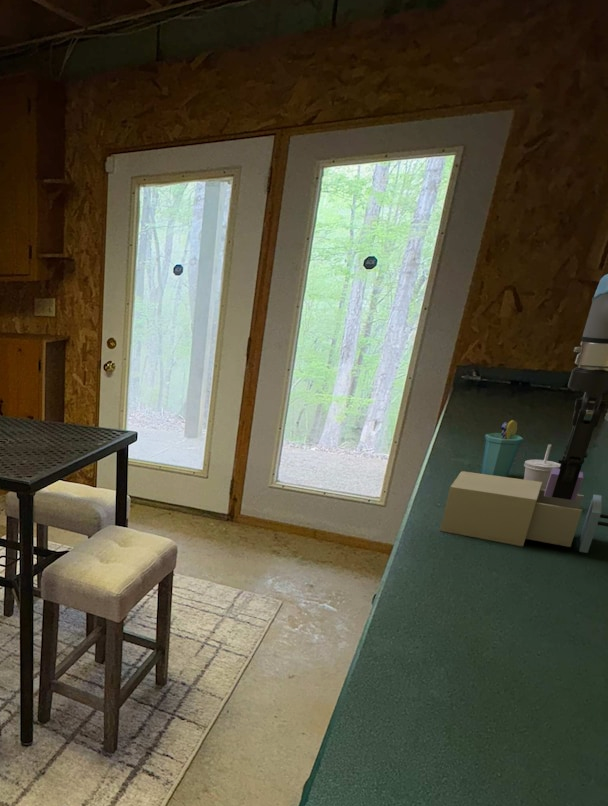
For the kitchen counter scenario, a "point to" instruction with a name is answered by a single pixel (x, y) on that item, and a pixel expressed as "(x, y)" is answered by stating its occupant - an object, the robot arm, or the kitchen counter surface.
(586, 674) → the kitchen counter surface
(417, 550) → the kitchen counter surface
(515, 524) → the tan drawer cabinet
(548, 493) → the block
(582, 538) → the drawer
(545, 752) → the kitchen counter surface
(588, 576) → the kitchen counter surface
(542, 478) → the smoothie
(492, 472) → the cup
